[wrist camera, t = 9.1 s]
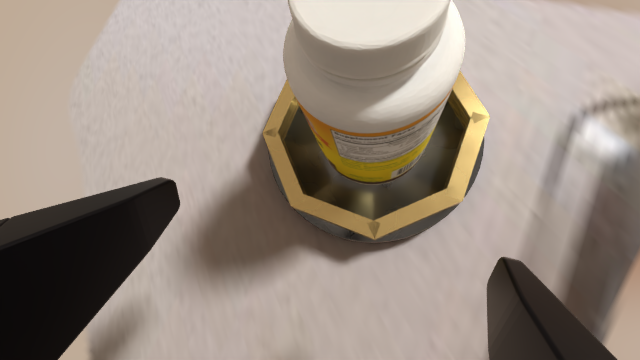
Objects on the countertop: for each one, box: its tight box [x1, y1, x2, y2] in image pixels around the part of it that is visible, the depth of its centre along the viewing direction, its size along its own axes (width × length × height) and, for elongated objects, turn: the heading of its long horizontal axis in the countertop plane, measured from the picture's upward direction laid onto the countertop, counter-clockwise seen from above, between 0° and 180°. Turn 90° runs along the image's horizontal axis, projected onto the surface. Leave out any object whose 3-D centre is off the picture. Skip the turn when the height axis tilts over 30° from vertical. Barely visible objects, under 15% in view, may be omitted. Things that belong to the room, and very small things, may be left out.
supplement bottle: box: [283, 0, 465, 185], centre depth 12 cm, size 6×6×10 cm
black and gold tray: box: [263, 71, 490, 243], centre depth 17 cm, size 12×12×2 cm
